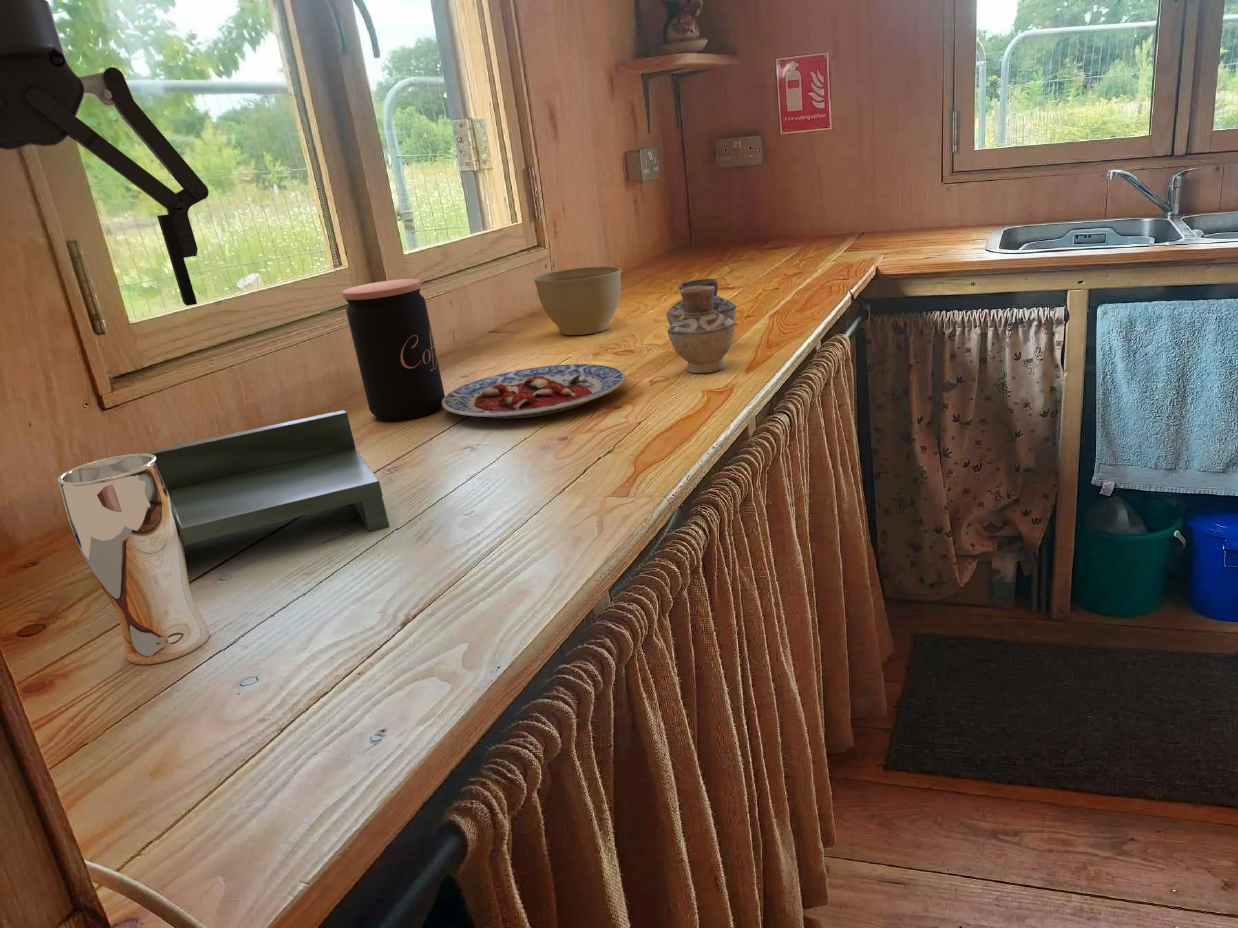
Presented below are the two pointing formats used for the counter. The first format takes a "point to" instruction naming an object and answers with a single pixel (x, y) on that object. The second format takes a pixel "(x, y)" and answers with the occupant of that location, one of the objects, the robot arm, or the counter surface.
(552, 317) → the planter bowl
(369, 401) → the coffee jar
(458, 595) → the counter surface
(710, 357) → the pottery
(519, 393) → the ceramic plate
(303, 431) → the shelf
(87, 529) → the beer glass
